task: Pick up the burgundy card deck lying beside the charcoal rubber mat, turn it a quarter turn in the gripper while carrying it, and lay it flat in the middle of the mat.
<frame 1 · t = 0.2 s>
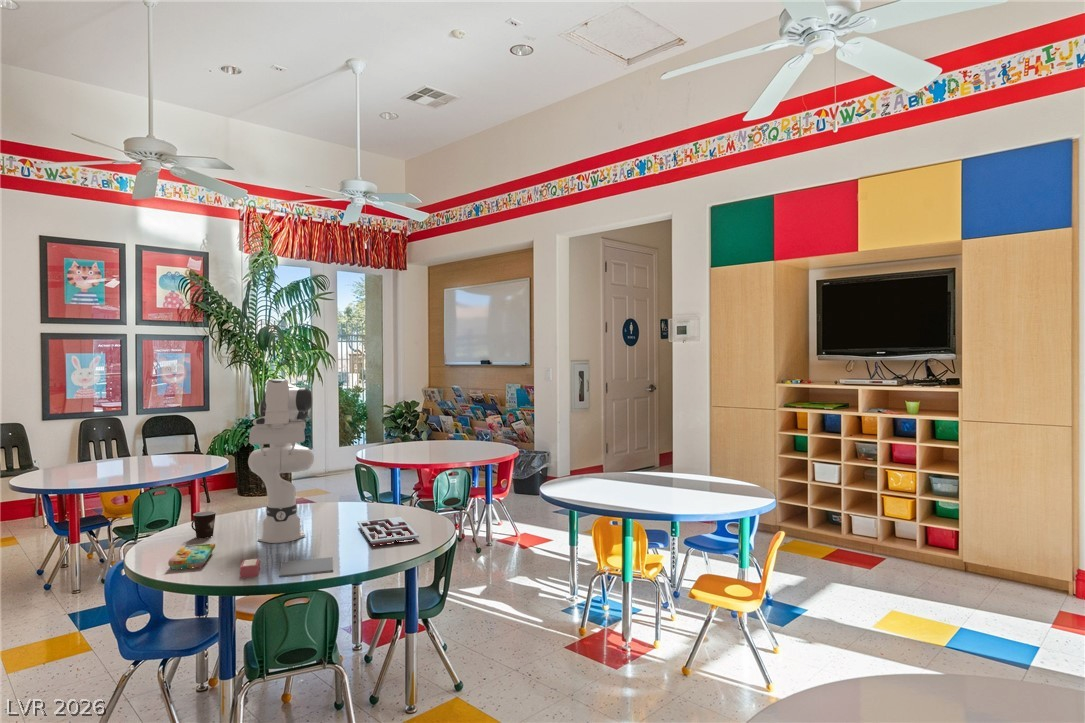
hand: (277, 455, 252), 39 cm above the table, tool pointing down, fingers open, 8 cm apart
maze game: (387, 535, 281), on the table
puzzle game: (192, 562, 244), on the table
mat: (306, 567, 237), on the table
coffee mug: (201, 537, 277), on the table
card deck: (250, 573, 231), on the table
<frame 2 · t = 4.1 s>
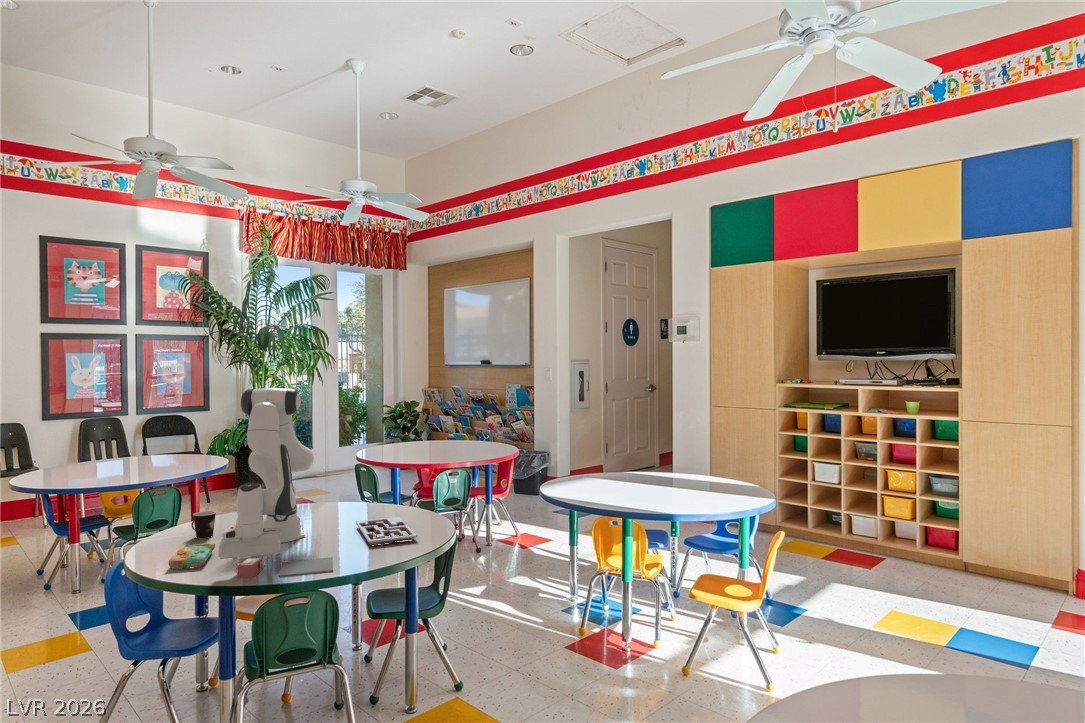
hand: (250, 568, 231), 2 cm above the table, tool pointing down, fingers closed on card deck, 6 cm apart
card deck: (250, 573, 231), on the table, touching gripper
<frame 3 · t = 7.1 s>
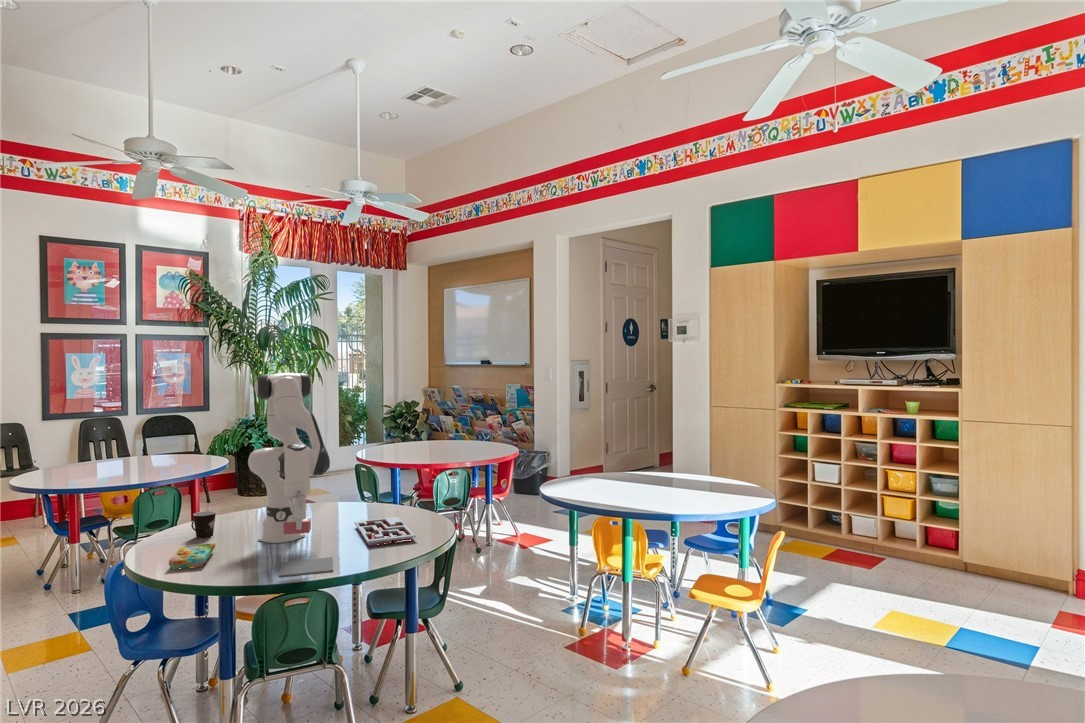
hand: (297, 526, 236), 15 cm above the table, tool pointing down, fingers closed on card deck, 6 cm apart
card deck: (297, 531, 235), point 13 cm above the table, touching gripper
when the fingers open (4 cm above the table, at t = 10.6 s): card deck drops 1 cm, resting on mat.
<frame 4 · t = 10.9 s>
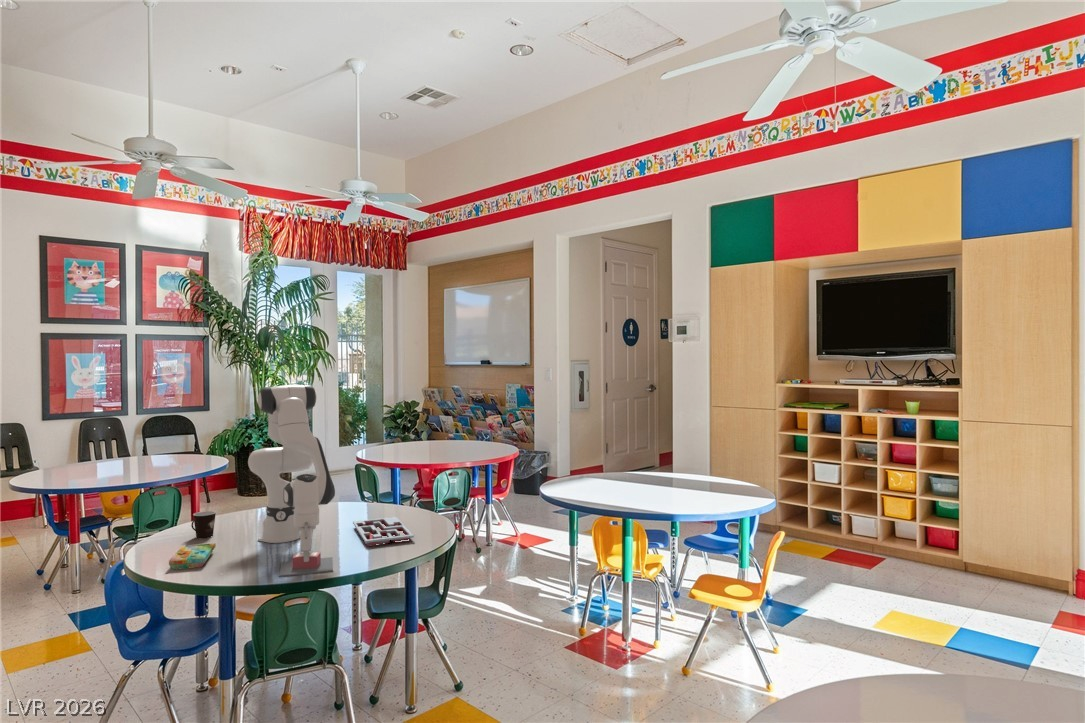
hand: (306, 557, 237), 4 cm above the table, tool pointing down, fingers open, 8 cm apart
card deck: (306, 565, 237), point 1 cm above the table, touching mat
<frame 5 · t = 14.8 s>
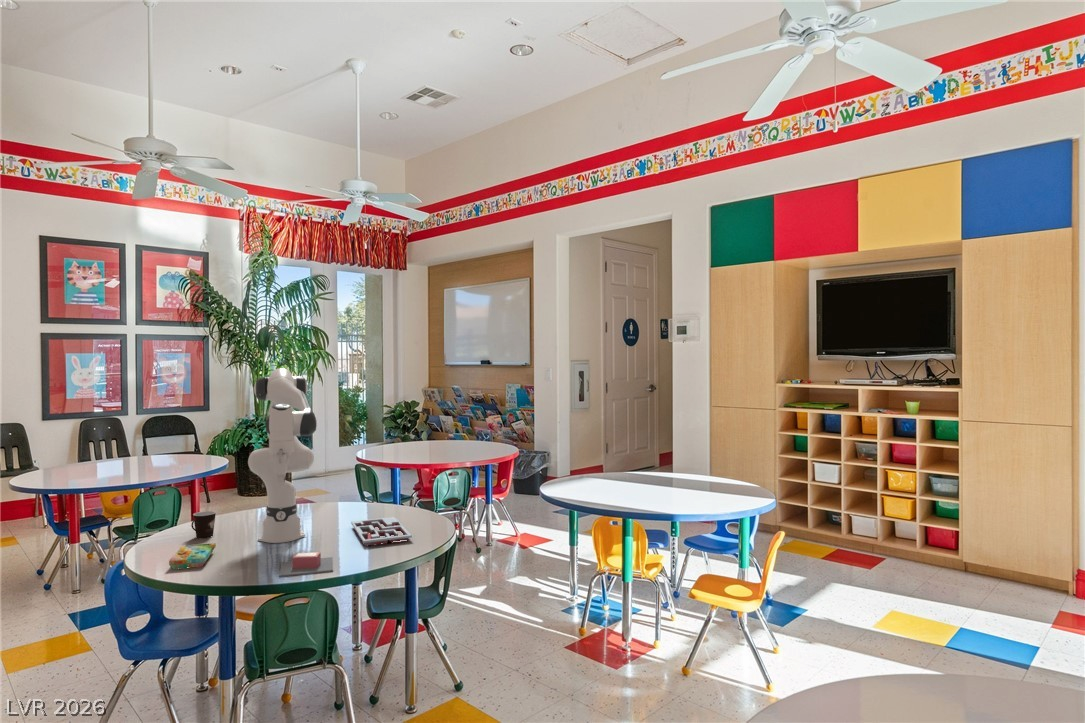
hand: (281, 484, 244), 29 cm above the table, tool pointing down, fingers open, 8 cm apart
at the end: card deck inside the target area on the mat (0.1 cm from its centre), point 0.6 cm above the mat's base; card deck tilted 0°; the gripper is holding nothing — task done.
